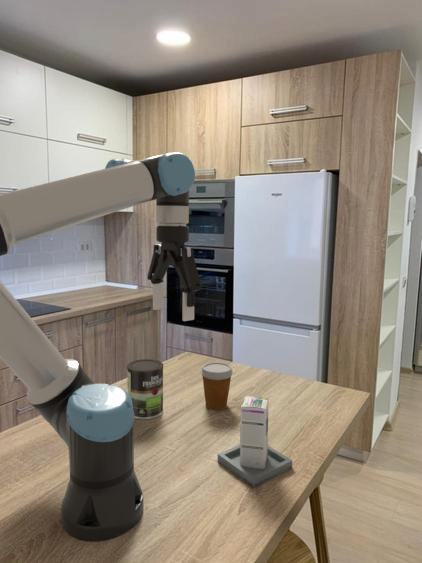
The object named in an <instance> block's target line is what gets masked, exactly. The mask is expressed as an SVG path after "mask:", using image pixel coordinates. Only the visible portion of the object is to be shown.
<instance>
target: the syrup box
mask: <svg viewBox="0 0 422 563" xmlns="http://www.w3.org/2000/svg"><path fill="white" fill-rule="evenodd" d="M239 426H240V428H239V430H240V431H239V432H240V433H239V436H240V437H239V441H240V442H239V445H240V466H243V467H248V468H255V469H263V470H264V469H265V466H266V461H267V453H268V446H269V444H268V443H269V442H268V441H269V438H268V437H269V399H268V398H266V397H261V396H244V398H243V400H242V402H241V405H240V425H239Z"/></svg>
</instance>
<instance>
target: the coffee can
mask: <svg viewBox="0 0 422 563" xmlns="http://www.w3.org/2000/svg"><path fill="white" fill-rule="evenodd" d="M126 371H127V393H128V394H129V395H130V397H131V399H132V404H133V410H134V420H141V421H142V420H146V421H147V420H151V419H155V418H157V417H160V416H161V415H162V414H163V412H164V405H163V404H164V363H163V362H162V361H159V360H156V359H151V358H149V359H148V358H147V359H138V360H137V359H136V360H132V361H130V362H129V363H127V365H126Z"/></svg>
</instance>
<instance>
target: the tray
mask: <svg viewBox="0 0 422 563" xmlns="http://www.w3.org/2000/svg"><path fill="white" fill-rule="evenodd" d="M217 462H218V463H219V464H221V465H222V467H224V468H226V469H228V470H229V471H230V472H232V473H233V474H235V476H236V477H238V478H239V479H240V480H242V481H244V482H245V483H246V484H248V485H249V486H251V487H252V488H253V489H254V488H256V487H258V486H260V485H262V484H264V483H265V482H268V481H269V480H271V479H273V478H275V477H277V476H279V475H281V474H283V473H285V472H286V471H288V470H290V469H293V459H291V458H290V457H287V456H286V455H284V454H283V453H281V452H279V451H277V449H274V448H273V447H271V446H269V445H268V453H267V461H266V466H265V469H264V470H263V469H255V468H248V467H243V466H240V444H238V445H236V446H234V447H231V448H229V449H227V450H225V451H221V452H220V453H217Z"/></svg>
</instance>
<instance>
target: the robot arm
mask: <svg viewBox="0 0 422 563" xmlns="http://www.w3.org/2000/svg"><path fill="white" fill-rule="evenodd" d="M195 178H196V172H195V167H194V163H193V162H192V160H191V159H190V158H189V157H188V156H187V155H185V154H184V153H182V152H167V153H164V154H163V153H162V154H159V155H154V156H151V157H143V158H138V159H134V160H133V159H131V160H129V159H124V158H121V159H118V158H115V159H114V158H112V159H110V160H108V161H107V162H106V165H105V167H104V168H103V169H99V170H96V171H95V170H94V171H91V172H87V173H83V174H78V175H75V176H69V177H67V178H62V179H58V180H55V181H50V182H47V183H42V184H39V185H38V184H37V185H34V186H30V187H26V188H25V187H24V188H20V189H18V190H15V191H14V190H13V191H10V192H6V193H2V194H0V257H2V256H5V255H8V254H9V253H10V252H11V249H12V248H13V247H14V245H17V244H19V243H22V242H26V241H29V240H32V239H35V238H38V237H41V236H45V235H47V234H51V233H54V232H57V231H61V230H63V229H66V228H69V227H72V226H75V225H79V224H82V223H85V222H87V221H91V220H94V219H98V218H101V217H104V216H106V215H109V214H114V213H117V212H120V211H122V210H125V209H128V208H132V207H135V206H137V205H141V204H144V203H148V202H152V201H155V205H156V206H155V215H156V216H155V221H156V222H155V223H157V224H158V225H157V227H155V228H156V233H155V234H156V241H157V242H159V244H157V243H154V244H153V251H152V252H153V253H152V258H151V259H150V260H151V261H150V265H149V268H148V271H147V272H148V273H147V280H148V281H150V282H151V284H152V310H153V311H157V310H159V311H160V310H164V309H165V308H164V306H165V304H164V302H165V301H164V300H165V299H164V297H165V294H164V293H165V291H164V290H165V288H164V286H165V284H164V282H165V281H164V280H163V279H164V277H165V275H166V274H167V272H168V269H169V267H170V266H172V267H173V268H174V269H175V270H176V272H177V275H178V276H179V280H180V282H181V285H182V287H183V290H182V311H181V312H182V315H181V316H182V319H181V320H182V321H183V322H187V321H194V320H195V305H196V293H197V292H198V291H201V290H202V289H203V287H202V283H201V279H200V276H199V271H198V268H197V263H196V260H195V255H194V252H195V251H194V250H195V249H194V247H189V246H187V247H186V246H185V243H187V242H189V241H190V228H189V226H188V225H187V224H189V223H190V222H189V221H190V219H189V218H190V217H189V216H190V215H189V214H190V212H189V211H190V209H189V207H190V205H189V204H190V190H191V188H192V187H193V185H194V184H195V183H194V182H195ZM0 359H1V361H2V362H3V363H4V364H5V365H6V366H7V367H8V368H9V369H10V370H11V371H12V373H13V374H15V376H16V377H17V378H18V379H19V381H21V382H22V383H23V384H24V385H25V386H26V387H27V394H26V399H27V401H28V402H29V403H30V404H31V406H32V407H33V408H34V409H35V410H36V411H37V412H38V413H39V414H40V415H41V417H42V418H43V419H44V420H45V421H46V422H47V423H48V424H49V425H50V427H52V428H53V429H54V431H55V432H56V433H57V434H58V436H59V437H60V438H61V440H63V442H64V443H65V445H66V446H67V448H68V460H69V462H68V463H69V464H68V465H69V481H68V484H67V486H66V490H65V493H64V496H63V500H62V503H61V509H60V515H61V516H60V517H61V525H62V528H63V530H64V531H66V533H67V534H69V535H70V536H71V537H74V538H75V539H79V540H82V541H90V542H93V541H95V542H97V541H104V540H105V541H106V540H109V539H113V538H116V537H119V536H120V535H122V534H124V533H126V532H128V531H129V530H130V529H132V528H133V527H134V526H135V525H136V524H137V523H138V522H139V521H140V519H141V517H142V516H143V512H144V503H145V502H144V493H143V490H142V487H141V485H140V482H139V479H138V476H137V475H136V472H135V464H134V463H135V462H134V461H135V460H134V459H135V454H134V453H135V449H134V448H135V442H134V441H135V440H134V438H135V436H134V432H135V431H134V425H135V424H134V422H135V418H134V410H133V404H132V399H131V397H130V395H129V394H128V391H127V390H125V389H124V388H122V387H120V386H118V385H115V384H113V385H110V384H109V383H102V382H101V383H95V382H94V380H93V379H92V378H91V377H90V376H89V375H88V373H87V372H86V370H85V369H84V368H83V367H82V366H81V365H80V364H79V362H78V360H76V359H74V358H65V357H64V356H63V355H62V354H61V352H60V351H59V350H58V349H57V348H56V346H55V345H54V344H53V343H52V341H51V340H50V339H49V338H48V336H46V334H45V333H44V332H43V330H42V329H41V328H40V327H39V325H37V323H36V322H35V321H34V320H33V319H32V317H31V316H30V315H29V314H28V312H27V311H26V310H25V308H24V307H23V306H22V305H21V303H20V302H19V301H18V300H17V299H16V297H15V296H14V295H13V294H12V293H11V292H10V291H9V289H8V287H7V286H5V284H4V283H3V282H2V281H1V280H0Z"/></svg>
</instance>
